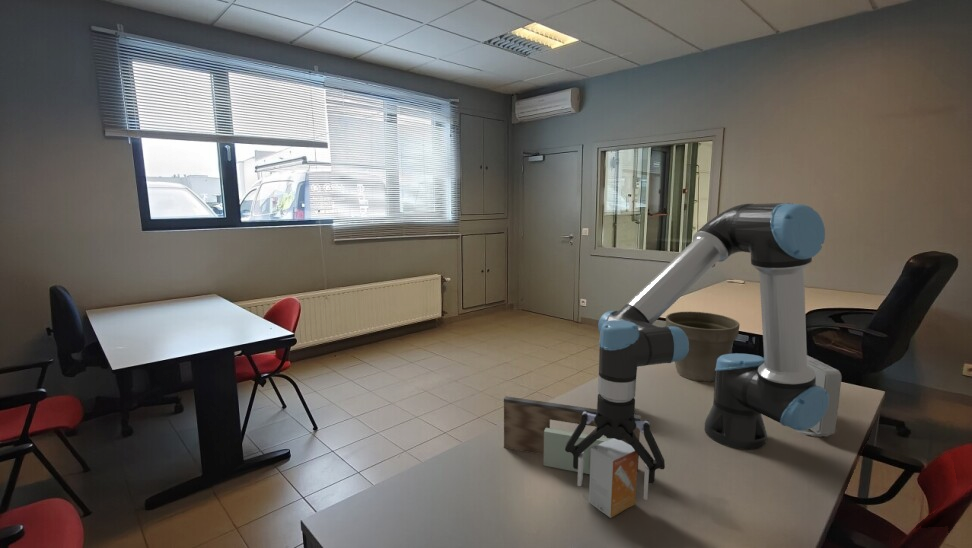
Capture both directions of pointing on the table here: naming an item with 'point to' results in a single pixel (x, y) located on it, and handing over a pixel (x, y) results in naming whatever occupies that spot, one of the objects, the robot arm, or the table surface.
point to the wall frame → (539, 422)
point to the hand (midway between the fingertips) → (611, 488)
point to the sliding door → (558, 455)
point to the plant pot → (703, 342)
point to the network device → (831, 384)
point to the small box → (613, 476)
